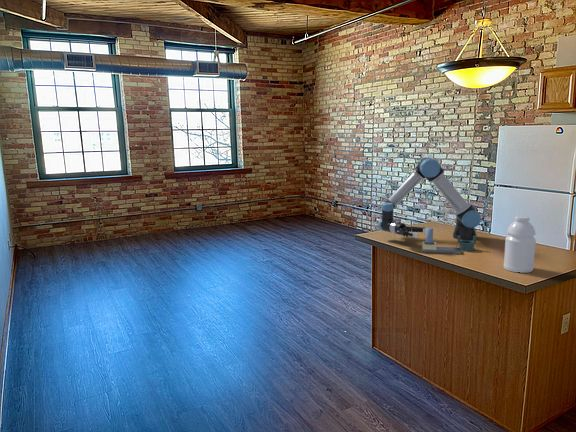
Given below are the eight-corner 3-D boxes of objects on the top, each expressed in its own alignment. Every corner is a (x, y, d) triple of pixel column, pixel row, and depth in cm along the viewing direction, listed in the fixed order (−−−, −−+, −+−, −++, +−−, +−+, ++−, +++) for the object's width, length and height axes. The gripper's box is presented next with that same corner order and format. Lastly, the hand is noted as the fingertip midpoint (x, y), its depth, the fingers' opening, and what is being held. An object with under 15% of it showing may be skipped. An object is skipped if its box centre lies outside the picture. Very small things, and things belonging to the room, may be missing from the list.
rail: (459, 250, 258) (460, 242, 257) (461, 254, 250) (461, 246, 249) (422, 248, 264) (422, 241, 263) (422, 252, 257) (422, 244, 256)
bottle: (511, 273, 214) (515, 219, 209) (498, 265, 228) (501, 214, 223) (539, 272, 214) (543, 219, 209) (524, 264, 228) (528, 214, 223)
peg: (432, 247, 260) (433, 228, 258) (432, 248, 257) (433, 229, 254) (425, 246, 262) (426, 228, 259) (425, 248, 258) (426, 229, 255)
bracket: (476, 250, 259) (477, 235, 257) (467, 252, 254) (467, 237, 253) (464, 247, 266) (465, 233, 265) (454, 249, 262) (455, 235, 260)
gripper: (410, 231, 285) (437, 236, 268) (384, 236, 272) (410, 243, 254) (411, 220, 284) (437, 225, 266) (385, 225, 270) (411, 231, 253)
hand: (424, 234), depth 260 cm, fingers open, 13 cm apart
